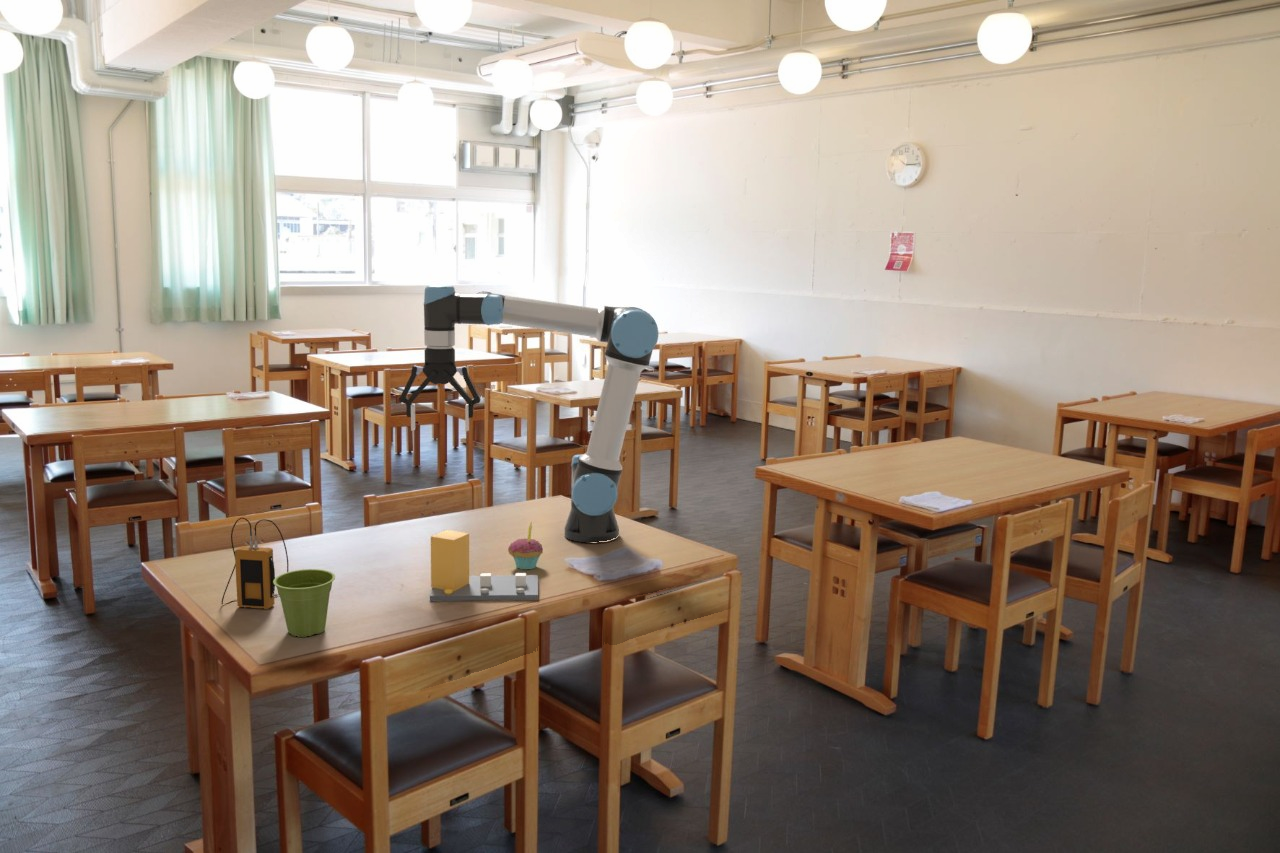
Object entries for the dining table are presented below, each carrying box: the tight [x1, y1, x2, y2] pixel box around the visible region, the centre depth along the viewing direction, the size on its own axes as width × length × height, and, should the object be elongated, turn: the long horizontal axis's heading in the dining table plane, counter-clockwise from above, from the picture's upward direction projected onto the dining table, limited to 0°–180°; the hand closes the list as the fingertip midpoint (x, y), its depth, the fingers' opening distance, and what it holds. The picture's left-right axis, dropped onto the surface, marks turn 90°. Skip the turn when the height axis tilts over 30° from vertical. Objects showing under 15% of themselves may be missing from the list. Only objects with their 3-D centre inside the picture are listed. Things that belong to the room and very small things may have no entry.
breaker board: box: [429, 572, 539, 602], centre depth 229 cm, size 24×14×4 cm, turn 96°
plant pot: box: [273, 568, 336, 638], centre depth 201 cm, size 12×12×11 cm
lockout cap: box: [430, 529, 470, 591], centre depth 227 cm, size 6×6×12 cm
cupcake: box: [507, 521, 544, 570], centre depth 245 cm, size 9×8×12 cm
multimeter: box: [220, 517, 289, 610], centre depth 216 cm, size 15×10×20 cm
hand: (440, 430), depth 253 cm, fingers open, 13 cm apart
